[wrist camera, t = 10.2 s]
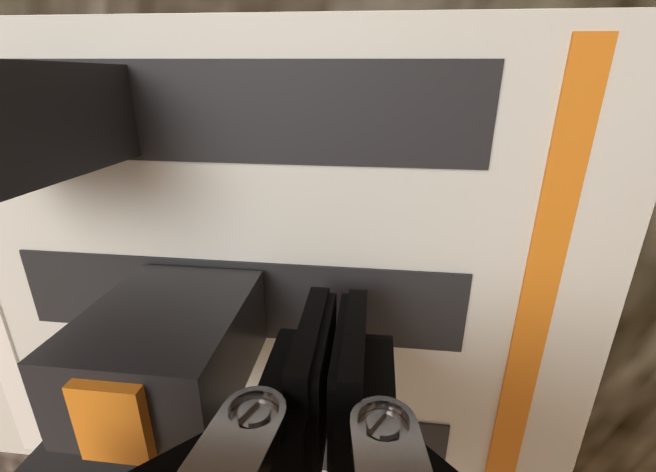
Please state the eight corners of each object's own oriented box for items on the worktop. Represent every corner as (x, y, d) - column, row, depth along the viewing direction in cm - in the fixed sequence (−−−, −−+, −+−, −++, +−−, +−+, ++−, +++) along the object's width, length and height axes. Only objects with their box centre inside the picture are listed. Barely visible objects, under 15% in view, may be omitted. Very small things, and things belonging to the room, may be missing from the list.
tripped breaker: (262, 270, 13) (191, 390, 8) (266, 337, 14) (204, 481, 9) (142, 264, 13) (4, 372, 8) (154, 329, 14) (36, 461, 9)
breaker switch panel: (659, 17, 11) (1042, -61, 5) (540, 467, 17) (635, 700, 11) (-110, 25, 14) (-543, -20, 7) (24, 415, 20) (-146, 578, 13)
